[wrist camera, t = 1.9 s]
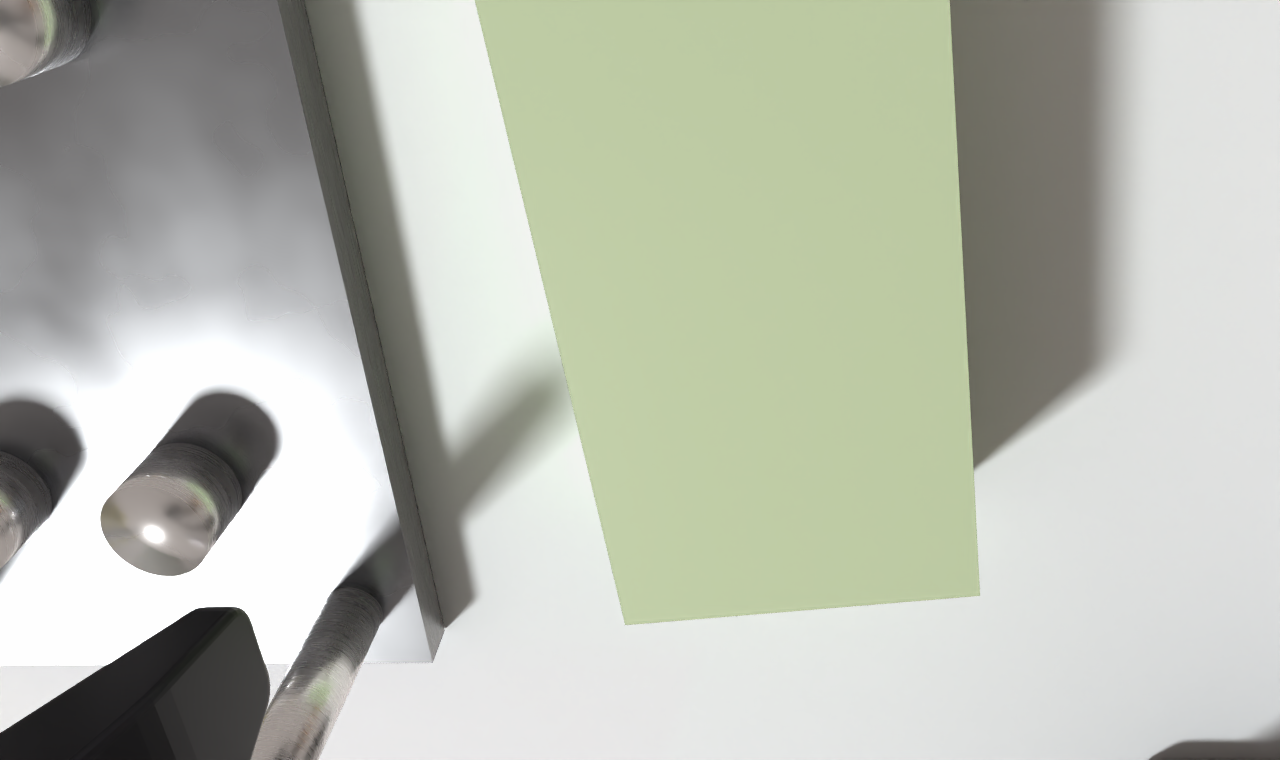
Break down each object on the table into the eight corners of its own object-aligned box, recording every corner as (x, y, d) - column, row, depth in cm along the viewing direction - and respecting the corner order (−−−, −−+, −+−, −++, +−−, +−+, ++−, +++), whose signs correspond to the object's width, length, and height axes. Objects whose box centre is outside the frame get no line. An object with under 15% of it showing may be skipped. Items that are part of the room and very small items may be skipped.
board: (901, -215, 15) (938, -224, 12) (946, 479, 21) (980, 596, 18) (503, -134, 16) (446, -122, 13) (643, 510, 22) (625, 625, 19)
